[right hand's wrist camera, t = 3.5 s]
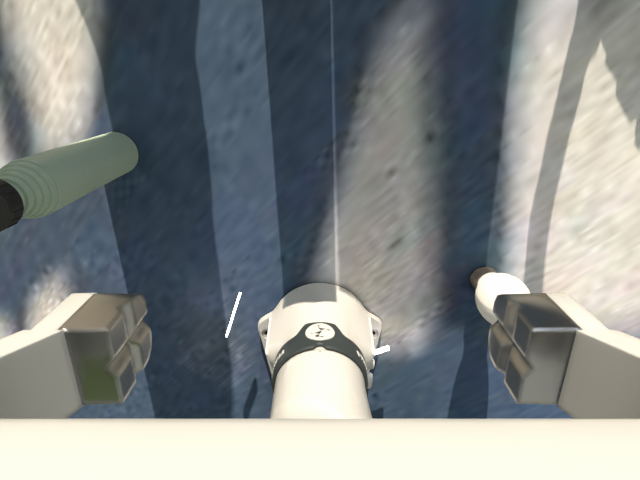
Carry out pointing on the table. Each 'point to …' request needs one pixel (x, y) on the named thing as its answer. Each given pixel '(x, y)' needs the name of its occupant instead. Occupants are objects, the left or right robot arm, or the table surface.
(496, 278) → the light bulb
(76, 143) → the bottle
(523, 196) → the table surface
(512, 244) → the table surface
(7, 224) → the cap
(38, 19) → the table surface
